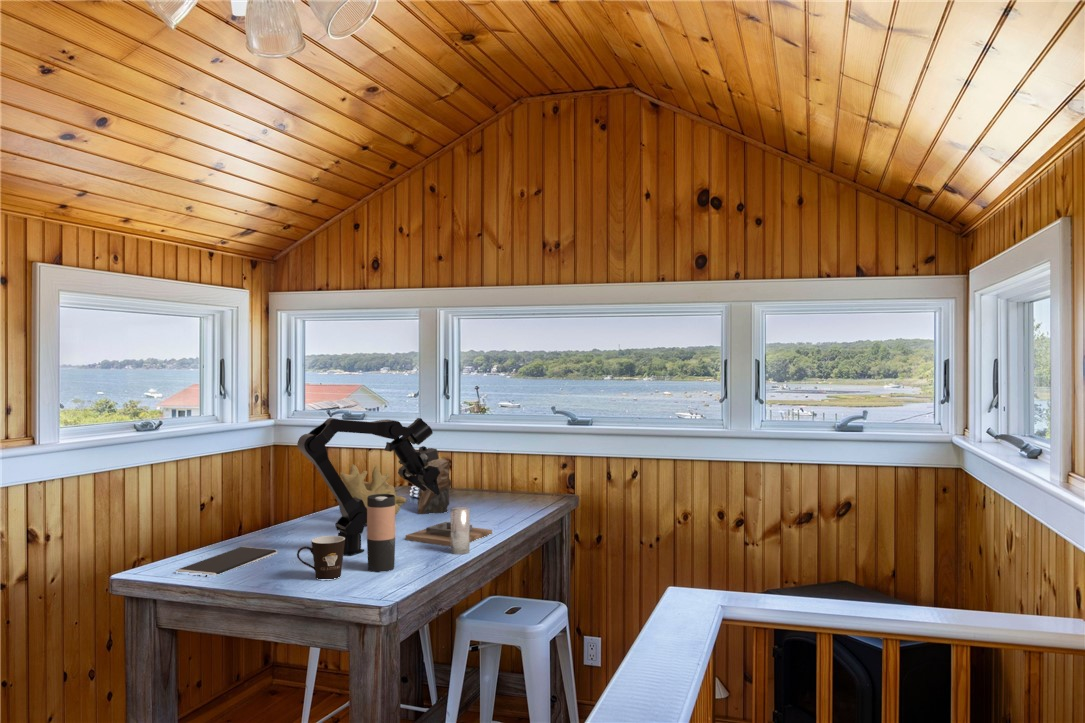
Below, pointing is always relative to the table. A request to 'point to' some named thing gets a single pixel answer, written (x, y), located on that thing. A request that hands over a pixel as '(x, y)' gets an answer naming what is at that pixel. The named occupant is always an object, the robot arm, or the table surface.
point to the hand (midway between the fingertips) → (431, 492)
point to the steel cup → (460, 530)
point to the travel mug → (381, 532)
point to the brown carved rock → (439, 503)
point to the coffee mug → (326, 556)
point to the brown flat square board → (444, 534)
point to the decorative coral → (370, 486)
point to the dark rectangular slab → (228, 560)
